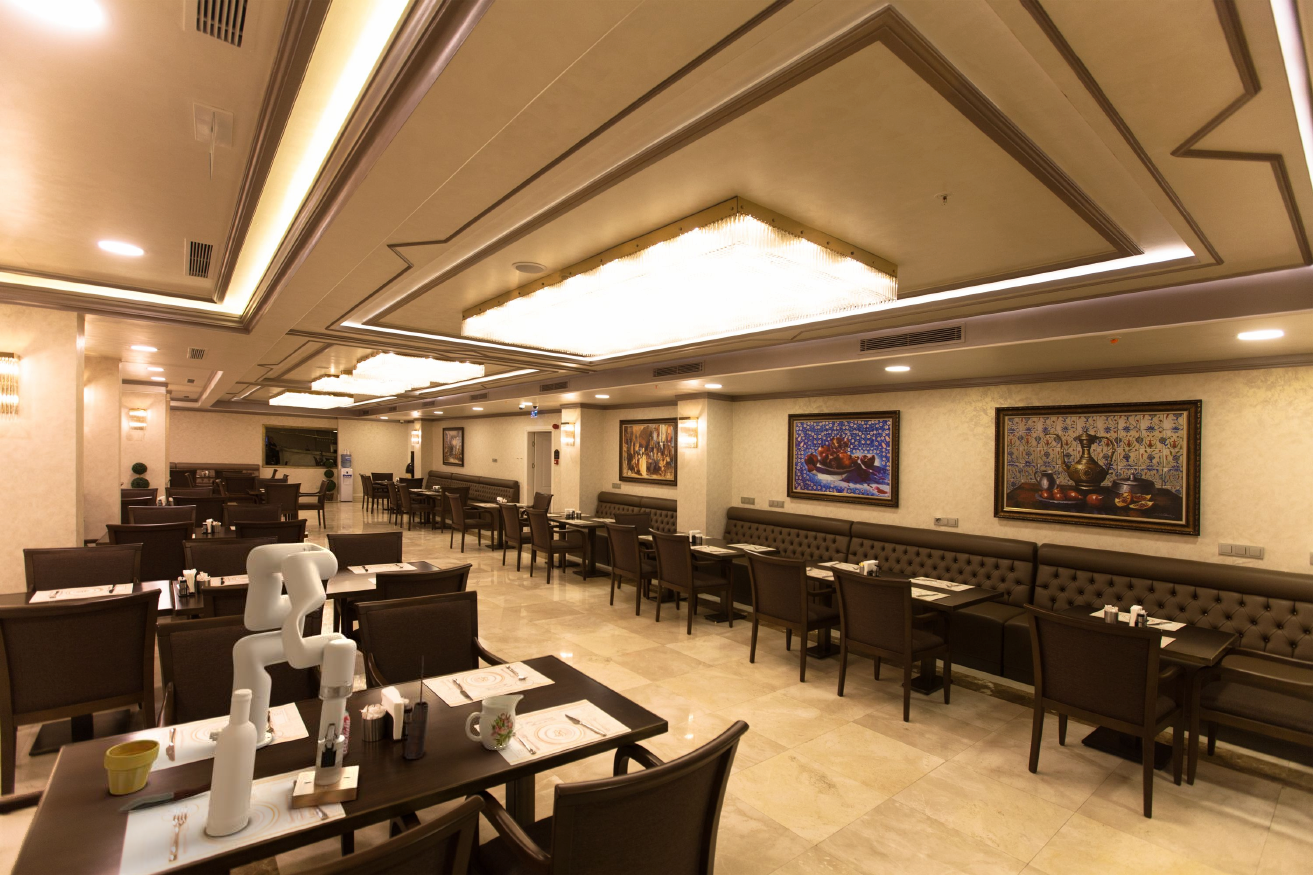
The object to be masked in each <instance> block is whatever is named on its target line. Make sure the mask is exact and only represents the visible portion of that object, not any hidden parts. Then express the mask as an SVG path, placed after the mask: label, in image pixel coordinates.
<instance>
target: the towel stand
mask: <svg viewBox="0 0 1313 875" xmlns="http://www.w3.org/2000/svg"><path fill="white" fill-rule="evenodd" d="M359 770H360V765H352V766H345V767H344V766H343V767H342V770H341V778H340V780H339V781H338V782H336V783H333V784H330V785H323V786H322V785H316V784H315V783H314V778H315V770H312V771H311V770H310V771H304V772H303V771H302V772H299V773H298V776H297V779H296V783H295V785H294V789H293V793H292V796H291V807H290V809H301V808H307V807H312V806H313V807H315V806H320V805H327V804H334V803H342V802H347V801H354V800H357V790H358V789H357V788H358V779H359Z"/></svg>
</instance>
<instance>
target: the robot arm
mask: <svg viewBox="0 0 1313 875" xmlns="http://www.w3.org/2000/svg"><path fill="white" fill-rule="evenodd" d="M338 569H339V566H338V559H337V558H336V555H335V554H334V553H333V552H332V551H330V550H329V549H327V548H325V547H323V546H320V545H318V544H315V543H312V542H297V543H296V542H294V543H274V544H273V543H272V544H264V545H259V546H255V547H254V548H253V549H251V551H250V552H249V553H248V556H247V558H246V573H247V579H248V588H247V594H246V602H245V608H244V616H243V623H244V627H245V629H247V630H249V631H251V632H252V631H253V632H257V631H266V632H260V633H255V634H250V635H246V636H243V637H242V638H240V639H238V641H236V642H235V643H234V645H233V648H232V661H233V682H232V691H231V692H232V693H231V698H232V697H233V693H234V692H235V691H237V690H240V689H250V690H251V691H252V698H251V703H250V712H249V721H250V722H251V723H252V724H254V725H255V728H256V731H257V744H256V750H259V749H261V748H264V747H265V746H267V745H269V744H270V743H271V742H272V738H273V736H272V734H271V733H269V732H267V727H268V726H267V725H268V718H269V709H270V700H271V691H272V678H271V675H270V673H268V672H267V670H266V669H265V667H267V666H271V665H275V664H280V663H284V662H287V663H288V664H289V665H290V667H292V668H294V669H297V670H299V669H300V670H301V669H302V670H303V669H307V668H311V667H315V666H319V665H322V668H321V677H320V687H319V696H318V697H319V699H321V700H322V704H321V705H322V707H321V712H320V714H321V715H320V724H319V732H318V739H317V741H318V740H319V741H321V740H324V747H323V751H322V757H321V768H326V767H334V766H335V761H336V751H337V749H336V741H337V739H339V738H340V734H341V731H342V726H343V721H344V715H345V711H346V706H347V699H348V698H350V697H351V696H352V695H353V689H354V677H355V667H356V658H357V643H356V641H355V640H353V639H350V638H347V637H346V636H345V635H344V634H343V633H340V632H331V633H324V634H318V635H312V636H308V637H307V636H306V637H303V634H304V628H305V627H304V626H305V620H306V616H307V615H308V614H310V613H312V612H314V611H316V610H317V609H319V608H320V607H322V606H323V605H324V604H325V602H326V600H327V594H326V591H325V587H324V585H323V582H322V581H324V580H330V579H332V578H333V577H335V576H336V575H337V572H338ZM279 574H281V576H282V578H281V576H280V575H279ZM282 579H283V580H282ZM283 583H284V586H285V589H286V592H287V594H282V589H283ZM279 628H281V629H280V630H274V631H267V630H272V629H279ZM231 706H232V700H231V701H230V707H231ZM230 715H231V708H230V711H229V716H230ZM229 723H230V717H229V720H228V724H229ZM220 733H221V731H210V733H209V740H211V741H212V742H216V741H217V739H218V737H219V735H220ZM333 736H335V737H333ZM324 738H325V739H324ZM333 741H334V743H333Z"/></svg>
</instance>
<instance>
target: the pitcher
mask: <svg viewBox="0 0 1313 875" xmlns="http://www.w3.org/2000/svg"><path fill="white" fill-rule="evenodd" d="M523 698H524V695H523V694H499V695H498V694H497V695H492V696H488V697H486V698H484V699H483V700H482V701H481V708H482V711H481V712H480V711H479V712H478V711H476V712H473V713H471V714H470V715H469V716H468V718H467V719H466V722H465V734H466V736H467V738H468V739H469V740H471V741H473V742H477V743H479V742H481V743H482V744H483V746H484V748H485V749H487V750H491V751H498V750H503V749H505V748H506V747H507V746H508V744H509V743H510V741H511V740H512V737H513V735H514V732H515V728H516V721H517V717H516V707H517V704H518V702H519V701H520V700H521V699H523ZM475 718H479V721H478V731H479V735H478V736H476V735H474V734H472V732H471V723H472V721H473V719H475ZM506 744H507V745H506ZM504 745H505V746H504ZM500 746H502V747H500ZM495 747H496V748H495Z"/></svg>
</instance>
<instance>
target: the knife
mask: <svg viewBox="0 0 1313 875" xmlns="http://www.w3.org/2000/svg"><path fill="white" fill-rule="evenodd" d="M211 784H212V780H211V781H209V782H207V783H205V784H203V785H201V786H198V787H195V788H182V789H178V790H176V791H170V792H166V793H161V794H155V795H147V796H142V797H141V796H140V797H138V798H135V799H134V800H132V801H130V802H128V803H127V804H125V805H124V806H122V807H121V808H120V809H118V810H117V812H133V811H134V812H135V811H140V810H146V809H152V808H156V807H160V806H164V805H168V804H171V803H175V802H179V801H182V800H186V799H190V798H192V797H196V796H198V795H200V794H203V793H206V792H209V791H211Z"/></svg>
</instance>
